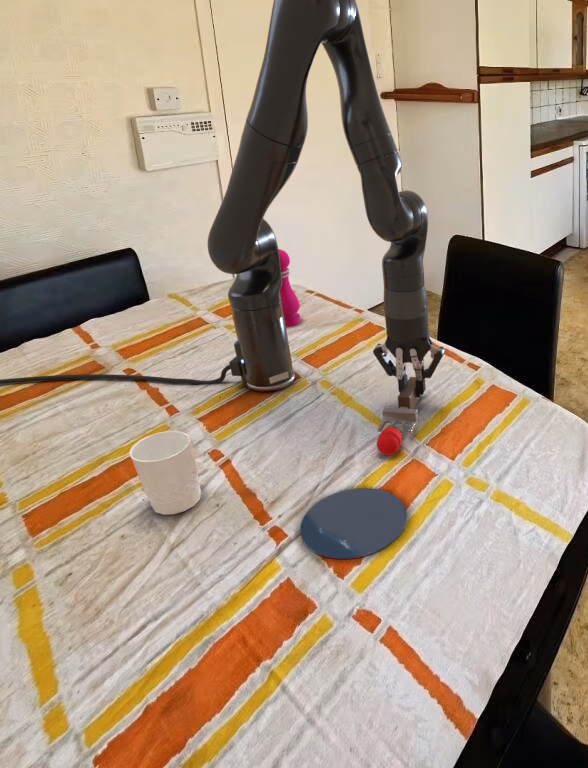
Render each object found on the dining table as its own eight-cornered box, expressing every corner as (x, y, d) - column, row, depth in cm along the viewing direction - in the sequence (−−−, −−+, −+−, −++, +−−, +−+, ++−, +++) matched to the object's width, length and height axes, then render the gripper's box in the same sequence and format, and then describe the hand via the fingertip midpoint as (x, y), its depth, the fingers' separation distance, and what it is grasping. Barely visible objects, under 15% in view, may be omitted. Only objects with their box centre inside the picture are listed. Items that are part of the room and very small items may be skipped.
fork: (401, 392, 122) (400, 376, 120) (431, 394, 121) (430, 377, 119) (377, 432, 107) (376, 413, 106) (411, 434, 107) (410, 415, 105)
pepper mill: (293, 329, 151) (280, 248, 141) (266, 327, 152) (251, 246, 143) (307, 318, 157) (295, 239, 148) (281, 316, 158) (267, 238, 149)
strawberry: (375, 458, 103) (372, 439, 101) (384, 440, 108) (382, 422, 106) (397, 460, 103) (395, 440, 101) (405, 441, 108) (403, 423, 106)
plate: (282, 553, 84) (282, 552, 84) (323, 485, 97) (323, 484, 97) (390, 564, 82) (390, 563, 82) (417, 493, 95) (417, 492, 95)
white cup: (186, 478, 99) (170, 425, 94) (216, 496, 95) (201, 441, 90) (137, 505, 93) (118, 449, 88) (167, 525, 89) (148, 468, 84)
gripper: (448, 303, 112) (452, 387, 121) (374, 300, 114) (382, 383, 122) (440, 319, 106) (444, 407, 114) (361, 315, 107) (371, 402, 116)
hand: (412, 394), depth 118 cm, fingers closed on fork, 2 cm apart
